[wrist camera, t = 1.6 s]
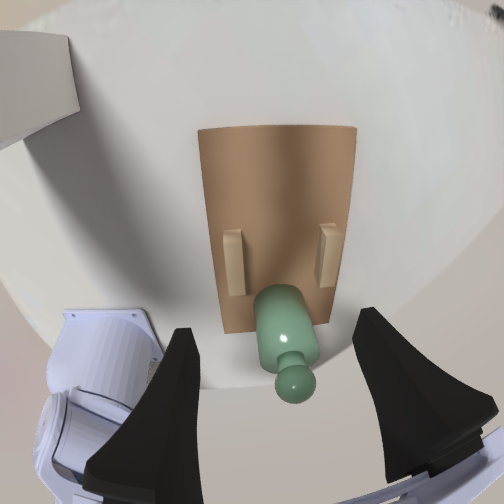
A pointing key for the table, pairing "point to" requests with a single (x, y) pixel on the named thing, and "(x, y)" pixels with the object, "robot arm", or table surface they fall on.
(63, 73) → the milk
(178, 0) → the table surface
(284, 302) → the bottle
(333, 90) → the table surface
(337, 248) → the rest board
